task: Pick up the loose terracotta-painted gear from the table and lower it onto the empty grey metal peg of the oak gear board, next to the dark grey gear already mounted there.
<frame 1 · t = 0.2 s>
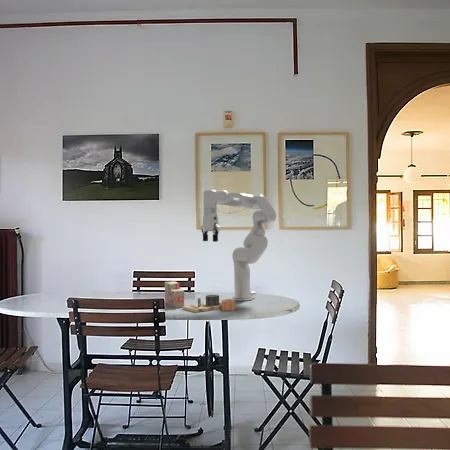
hand: (210, 241, 276), 36 cm above the table, tool pointing down, fingers open, 9 cm apart
gear board: (206, 308, 263), on the table
loose gear: (228, 309, 259), on the table
stack of blocks: (174, 304, 278), on the table
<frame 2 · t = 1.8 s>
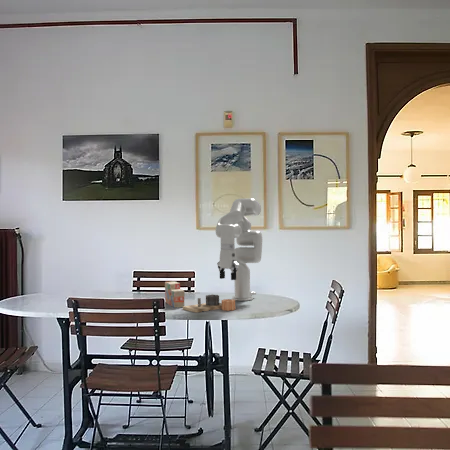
hand: (227, 279, 259), 16 cm above the table, tool pointing down, fingers open, 9 cm apart
nothing on the table moved.
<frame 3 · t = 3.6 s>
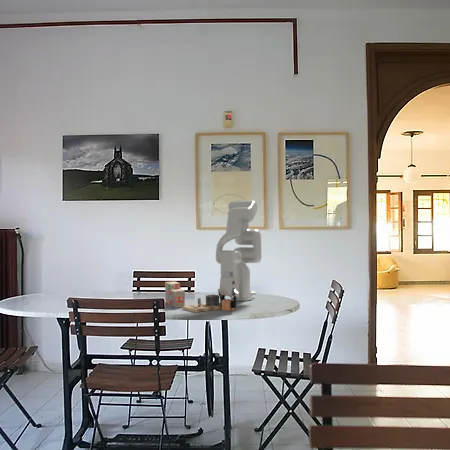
hand: (228, 306, 259), 2 cm above the table, tool pointing down, fingers open, 8 cm apart
nothing on the table moved.
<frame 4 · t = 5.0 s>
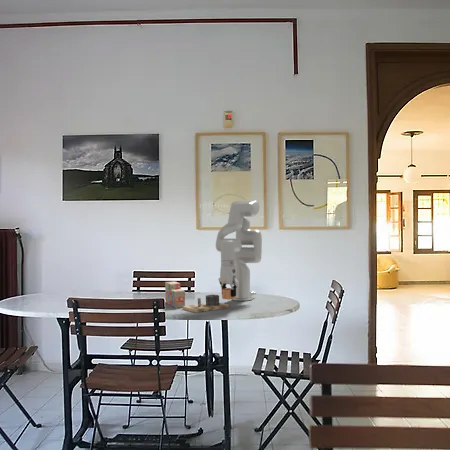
hand: (228, 295, 260), 8 cm above the table, tool pointing down, fingers closed on loose gear, 7 cm apart
loose gear: (229, 298, 260), point 6 cm above the table, touching gripper
everything else where it was.
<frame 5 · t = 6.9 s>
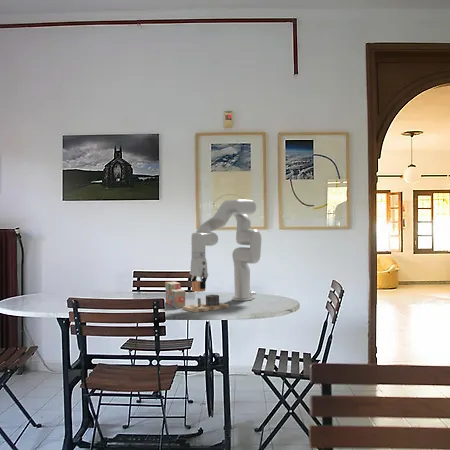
hand: (198, 287, 260), 12 cm above the table, tool pointing down, fingers closed on loose gear, 7 cm apart
loose gear: (198, 290, 260), point 10 cm above the table, touching gripper
everything else where it was.
when the fingers open (4 cm above the table, at t = 9.2 s): loose gear stays where it is, resting on gear board.
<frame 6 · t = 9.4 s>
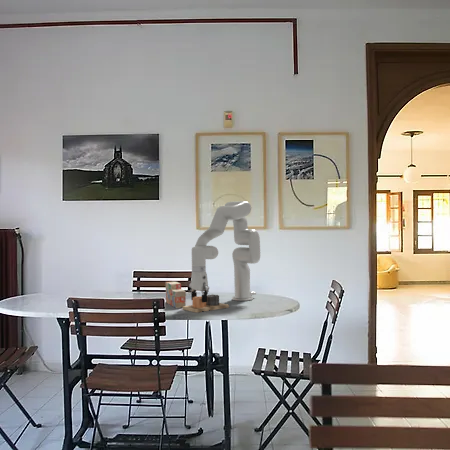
hand: (199, 300, 261), 5 cm above the table, tool pointing down, fingers open, 9 cm apart
loose gear: (199, 306, 261), point 1 cm above the table, touching gear board
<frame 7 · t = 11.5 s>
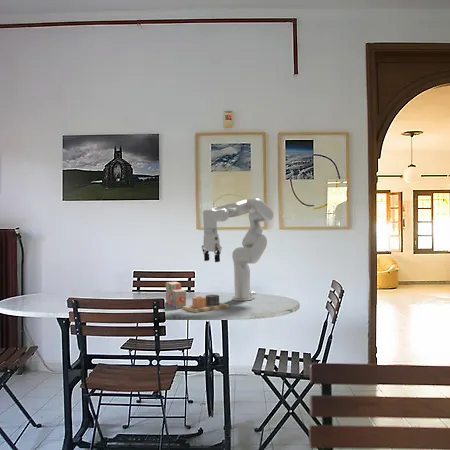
hand: (212, 261, 273), 25 cm above the table, tool pointing down, fingers open, 9 cm apart
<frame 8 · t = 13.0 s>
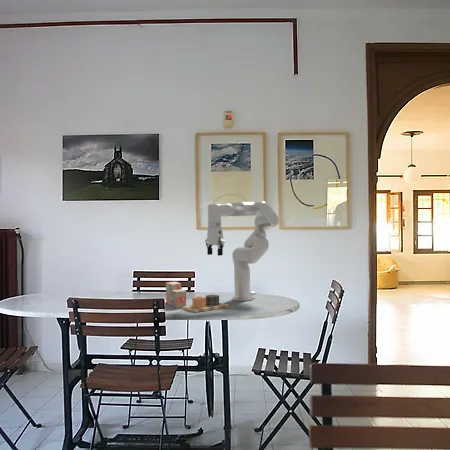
hand: (215, 255, 276), 28 cm above the table, tool pointing down, fingers open, 9 cm apart
at the end: loose gear 0.0 cm from the target spot on the gear board, point 1.5 cm above the gear board's base; loose gear tilted 0°; the gripper is holding nothing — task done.
